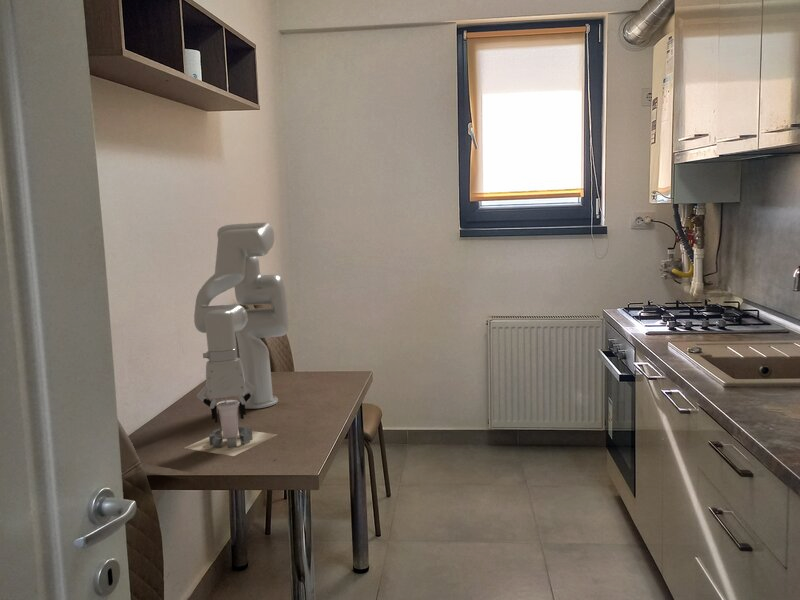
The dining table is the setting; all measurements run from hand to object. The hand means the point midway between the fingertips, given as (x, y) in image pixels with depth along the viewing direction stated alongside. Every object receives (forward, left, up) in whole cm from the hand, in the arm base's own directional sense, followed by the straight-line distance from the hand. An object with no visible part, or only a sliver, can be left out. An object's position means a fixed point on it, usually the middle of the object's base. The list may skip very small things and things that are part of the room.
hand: (229, 418), depth 204 cm
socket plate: (0, 0, -8) cm, 8 cm away
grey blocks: (0, 0, -6) cm, 6 cm away
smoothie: (0, 0, -5) cm, 5 cm away
